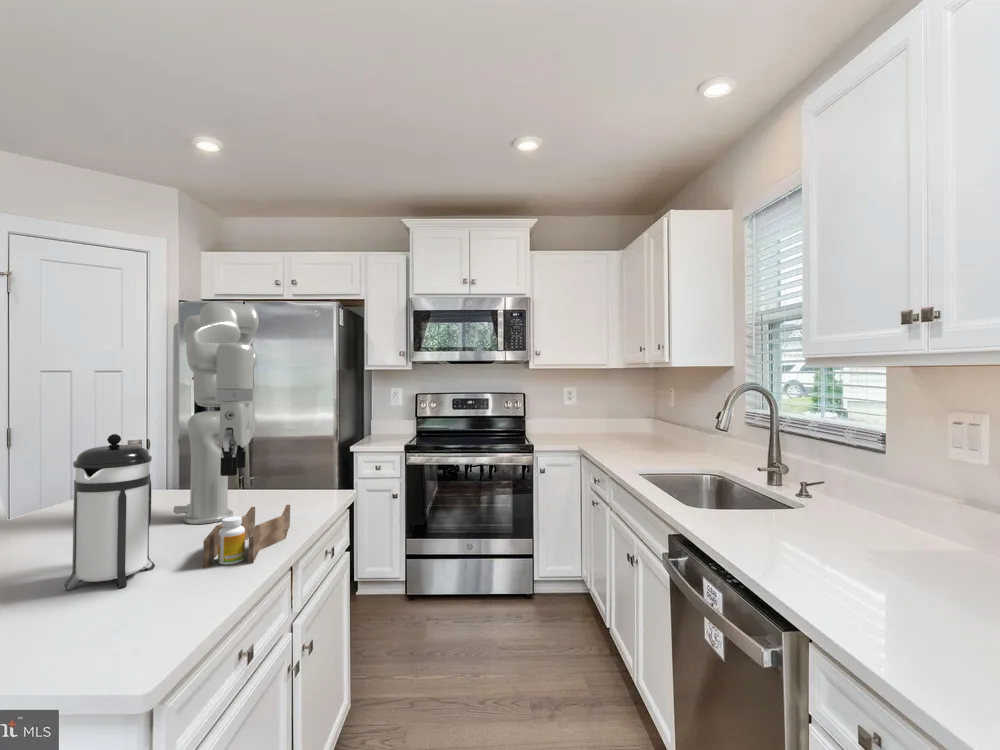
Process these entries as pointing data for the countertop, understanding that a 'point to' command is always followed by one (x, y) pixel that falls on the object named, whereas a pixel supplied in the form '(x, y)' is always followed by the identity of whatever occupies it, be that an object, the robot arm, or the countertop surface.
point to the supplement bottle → (231, 541)
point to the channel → (251, 535)
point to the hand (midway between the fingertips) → (233, 471)
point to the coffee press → (111, 513)
